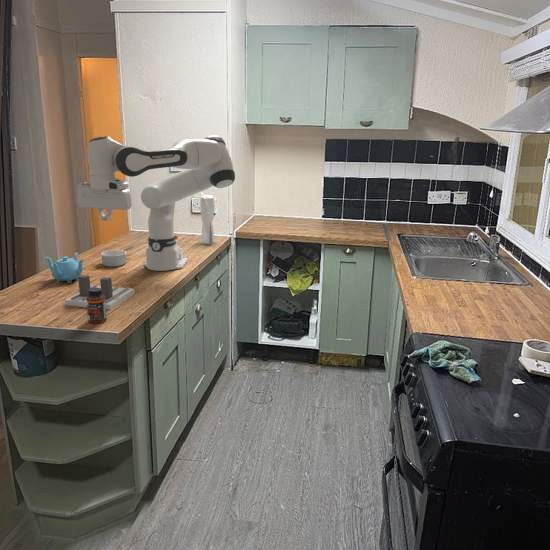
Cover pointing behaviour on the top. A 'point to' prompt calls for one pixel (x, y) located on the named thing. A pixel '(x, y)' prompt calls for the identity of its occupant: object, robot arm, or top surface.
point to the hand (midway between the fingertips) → (105, 220)
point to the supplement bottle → (96, 306)
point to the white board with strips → (110, 303)
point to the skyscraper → (207, 219)
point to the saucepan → (114, 257)
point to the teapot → (66, 268)
